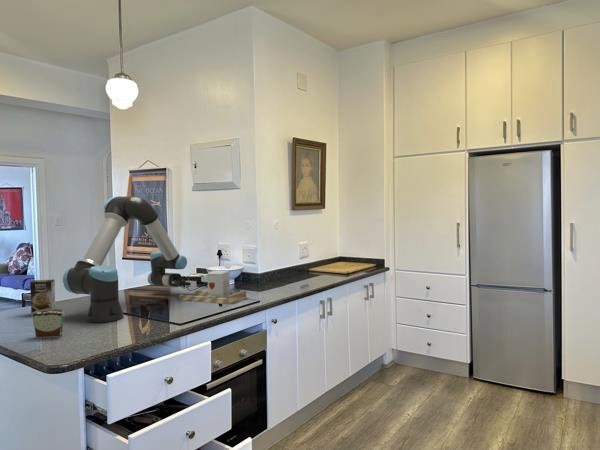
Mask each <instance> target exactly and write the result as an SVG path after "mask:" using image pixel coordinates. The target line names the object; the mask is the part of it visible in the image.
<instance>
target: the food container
mask: <svg viewBox="0 0 600 450" xmlns="http://www.w3.org/2000/svg"><path fill="white" fill-rule="evenodd" d="M30 315H31V316H30V318H32V322H33V327H34V335H35V338H36V339H38V338H40V339H41V338H61V337H62V336H63V322H64V317H65V316H66V314H65V311H64V308H55V309H44V310H39V311H35V312H32V314H30Z"/></svg>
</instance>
